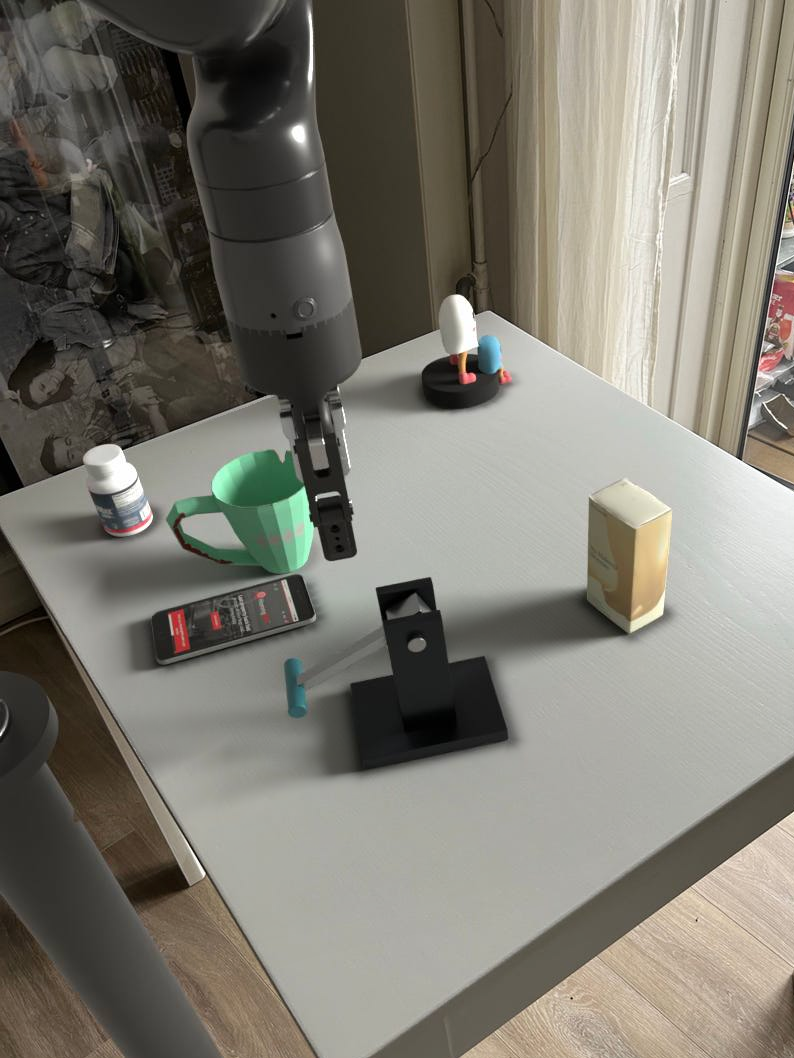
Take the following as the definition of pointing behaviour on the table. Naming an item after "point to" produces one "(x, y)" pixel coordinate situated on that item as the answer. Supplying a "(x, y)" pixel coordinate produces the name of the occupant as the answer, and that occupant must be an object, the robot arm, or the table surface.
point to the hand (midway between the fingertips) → (334, 519)
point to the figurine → (463, 361)
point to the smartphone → (231, 618)
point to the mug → (254, 513)
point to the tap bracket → (423, 690)
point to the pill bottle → (116, 491)
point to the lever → (341, 658)
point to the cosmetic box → (627, 554)
